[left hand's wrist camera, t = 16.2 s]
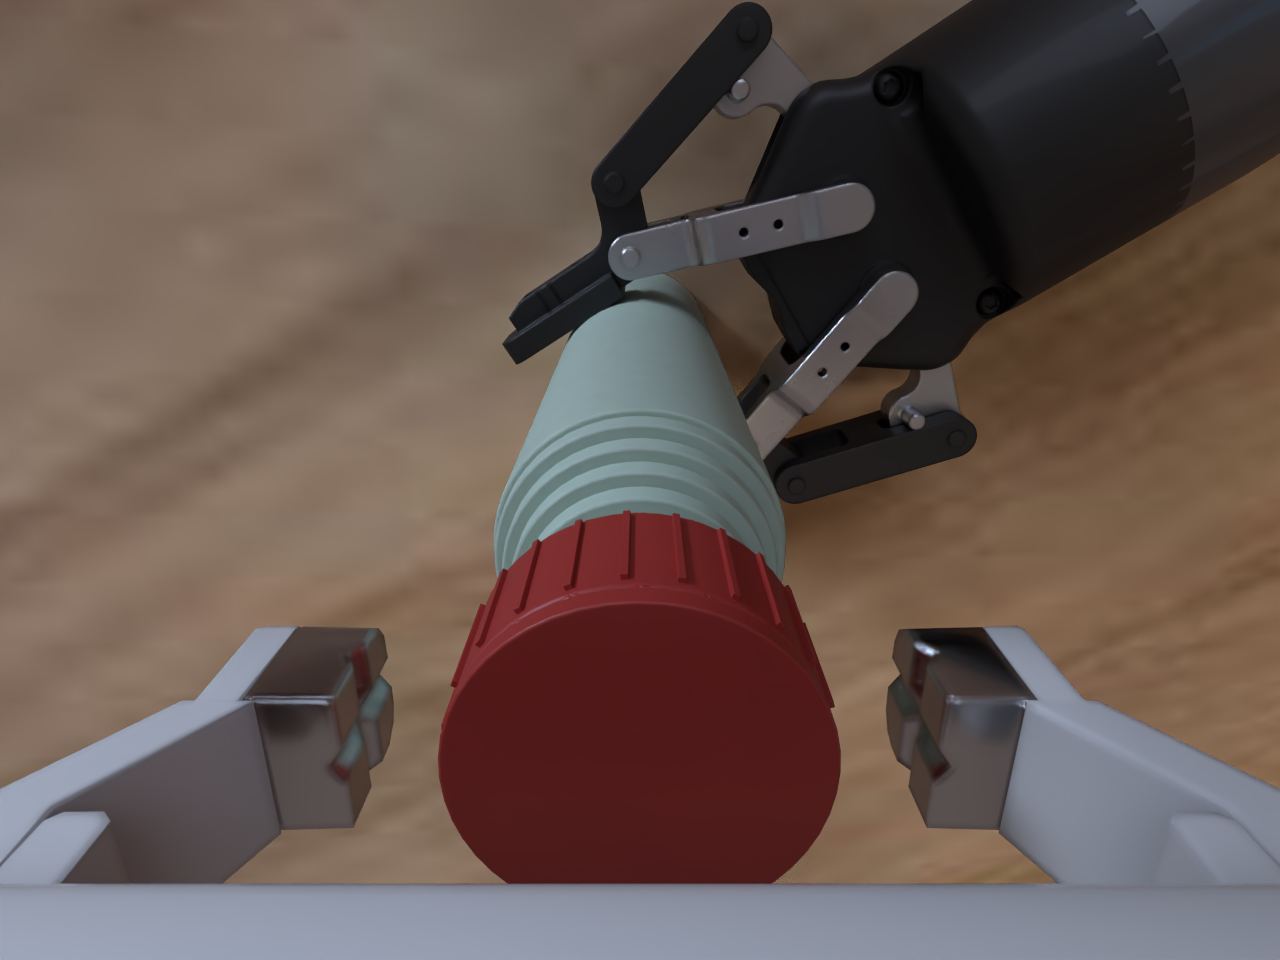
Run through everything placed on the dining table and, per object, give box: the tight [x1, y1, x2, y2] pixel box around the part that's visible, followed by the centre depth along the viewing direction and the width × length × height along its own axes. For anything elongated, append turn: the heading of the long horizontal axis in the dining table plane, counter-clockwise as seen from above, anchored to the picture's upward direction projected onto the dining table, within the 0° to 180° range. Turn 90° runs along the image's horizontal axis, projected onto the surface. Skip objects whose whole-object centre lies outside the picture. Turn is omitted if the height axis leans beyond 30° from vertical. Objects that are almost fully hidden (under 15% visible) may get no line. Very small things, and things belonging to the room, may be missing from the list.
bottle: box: [494, 274, 786, 583], centre depth 19 cm, size 5×5×23 cm
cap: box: [438, 510, 841, 884], centre depth 9 cm, size 4×4×2 cm
